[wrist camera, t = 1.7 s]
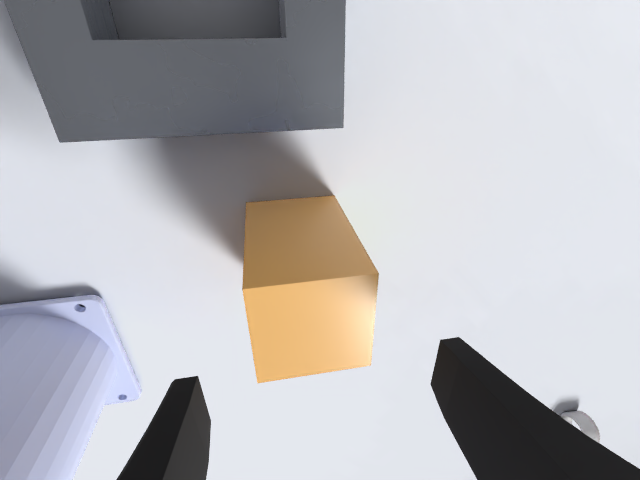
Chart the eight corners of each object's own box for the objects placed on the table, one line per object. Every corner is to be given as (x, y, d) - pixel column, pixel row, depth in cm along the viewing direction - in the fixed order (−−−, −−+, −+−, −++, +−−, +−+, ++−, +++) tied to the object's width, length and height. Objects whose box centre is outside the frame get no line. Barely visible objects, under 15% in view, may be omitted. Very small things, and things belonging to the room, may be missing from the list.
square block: (256, 275, 19) (257, 383, 13) (246, 202, 16) (242, 289, 10) (333, 267, 19) (370, 365, 13) (333, 195, 17) (378, 273, 11)
